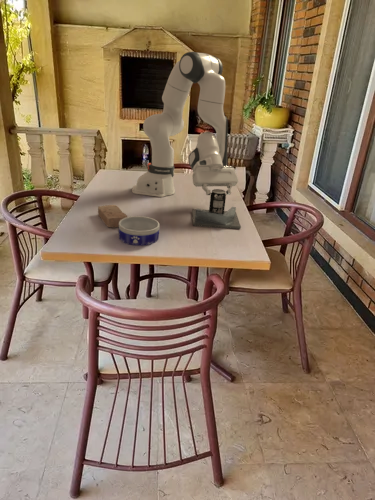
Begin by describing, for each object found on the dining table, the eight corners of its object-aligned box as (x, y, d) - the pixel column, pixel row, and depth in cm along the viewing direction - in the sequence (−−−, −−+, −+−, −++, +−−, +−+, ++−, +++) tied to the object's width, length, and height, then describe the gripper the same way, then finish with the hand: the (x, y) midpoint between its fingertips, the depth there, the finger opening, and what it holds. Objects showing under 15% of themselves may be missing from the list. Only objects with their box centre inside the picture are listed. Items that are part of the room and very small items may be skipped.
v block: (192, 211, 175) (193, 200, 173) (235, 214, 176) (236, 203, 173) (193, 226, 159) (194, 214, 156) (240, 229, 159) (242, 217, 157)
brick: (97, 215, 163) (96, 204, 161) (116, 213, 167) (116, 203, 165) (108, 229, 150) (108, 218, 148) (128, 227, 154) (128, 216, 152)
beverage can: (215, 213, 171) (217, 187, 166) (226, 217, 167) (229, 191, 162) (205, 216, 166) (207, 190, 161) (216, 221, 162) (219, 194, 157)
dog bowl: (160, 231, 152) (161, 217, 149) (157, 247, 138) (157, 232, 135) (122, 228, 151) (122, 214, 149) (115, 244, 138) (115, 229, 135)
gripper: (231, 169, 171) (237, 197, 167) (188, 169, 164) (194, 198, 160) (236, 162, 166) (243, 190, 162) (193, 161, 159) (199, 191, 155)
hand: (218, 194), depth 161 cm, fingers open, 8 cm apart
